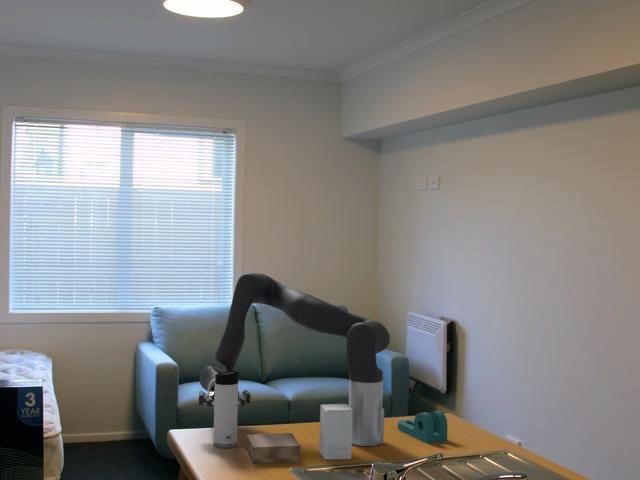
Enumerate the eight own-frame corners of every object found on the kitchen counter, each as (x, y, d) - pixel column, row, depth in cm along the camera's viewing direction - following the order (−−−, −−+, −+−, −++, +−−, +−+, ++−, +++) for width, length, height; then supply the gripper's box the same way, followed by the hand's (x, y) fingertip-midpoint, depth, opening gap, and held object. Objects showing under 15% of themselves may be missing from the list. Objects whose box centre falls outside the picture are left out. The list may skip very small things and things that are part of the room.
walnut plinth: (291, 447, 201) (291, 432, 201) (300, 461, 189) (300, 445, 189) (246, 449, 198) (246, 434, 198) (252, 463, 187) (252, 447, 187)
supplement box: (352, 459, 192) (353, 409, 192) (323, 460, 191) (324, 410, 191) (346, 451, 200) (347, 403, 199) (318, 451, 198) (319, 403, 198)
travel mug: (233, 449, 198) (235, 373, 198) (209, 447, 200) (211, 371, 200) (241, 442, 205) (242, 369, 204) (217, 440, 206) (219, 367, 206)
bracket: (447, 442, 211) (447, 414, 211) (426, 444, 208) (427, 416, 208) (412, 426, 228) (413, 400, 228) (393, 428, 225) (394, 402, 225)
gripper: (196, 378, 217) (200, 389, 202) (246, 377, 220) (253, 388, 205) (196, 404, 217) (199, 417, 202) (245, 403, 221) (252, 416, 205)
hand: (226, 403), depth 203 cm, fingers open, 8 cm apart
